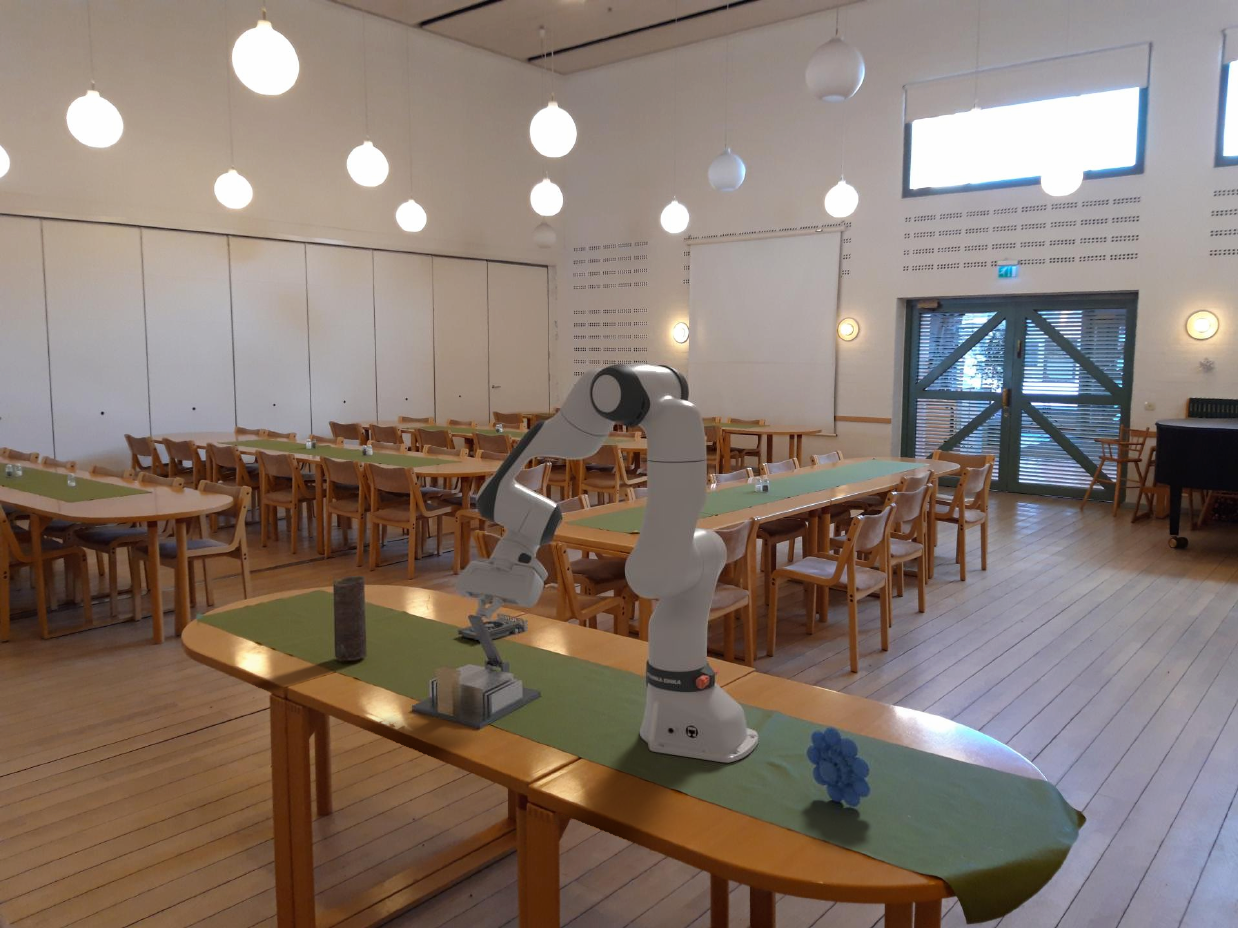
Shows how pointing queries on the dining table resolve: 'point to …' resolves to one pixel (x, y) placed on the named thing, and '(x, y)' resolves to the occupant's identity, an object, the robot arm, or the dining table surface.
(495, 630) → the graphics card
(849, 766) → the blue flower
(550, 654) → the dining table surface
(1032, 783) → the dining table surface
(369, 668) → the dining table surface
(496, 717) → the grey boxy piece
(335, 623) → the candle
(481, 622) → the retention strap
